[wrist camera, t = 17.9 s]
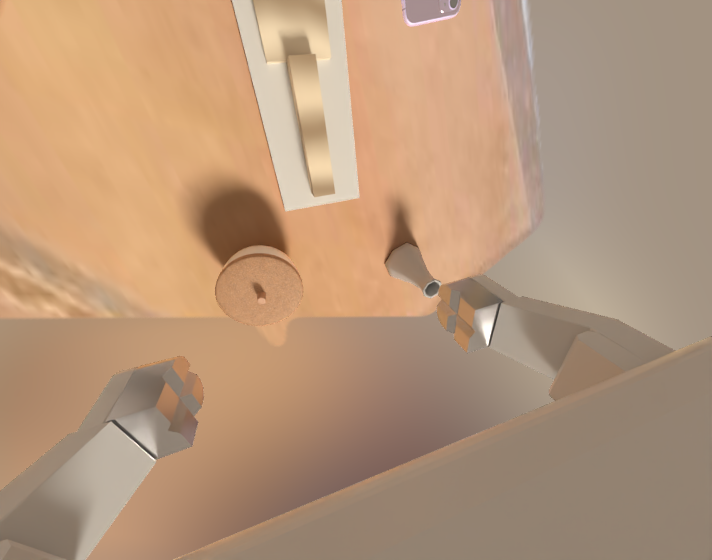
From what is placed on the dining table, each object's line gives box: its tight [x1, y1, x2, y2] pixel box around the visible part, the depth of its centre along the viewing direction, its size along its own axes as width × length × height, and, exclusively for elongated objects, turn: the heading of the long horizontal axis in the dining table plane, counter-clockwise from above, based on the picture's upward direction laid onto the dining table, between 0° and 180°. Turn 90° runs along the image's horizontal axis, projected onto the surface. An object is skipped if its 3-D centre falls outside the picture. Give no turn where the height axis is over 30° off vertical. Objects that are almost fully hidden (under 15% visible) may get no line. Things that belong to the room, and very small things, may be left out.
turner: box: [253, 0, 335, 197], centre depth 28 cm, size 22×7×3 cm, turn 6°
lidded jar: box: [215, 245, 303, 326], centre depth 35 cm, size 11×11×9 cm
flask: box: [385, 243, 441, 298], centre depth 42 cm, size 7×7×10 cm
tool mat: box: [232, 0, 360, 211], centre depth 30 cm, size 11×26×1 cm, turn 5°
